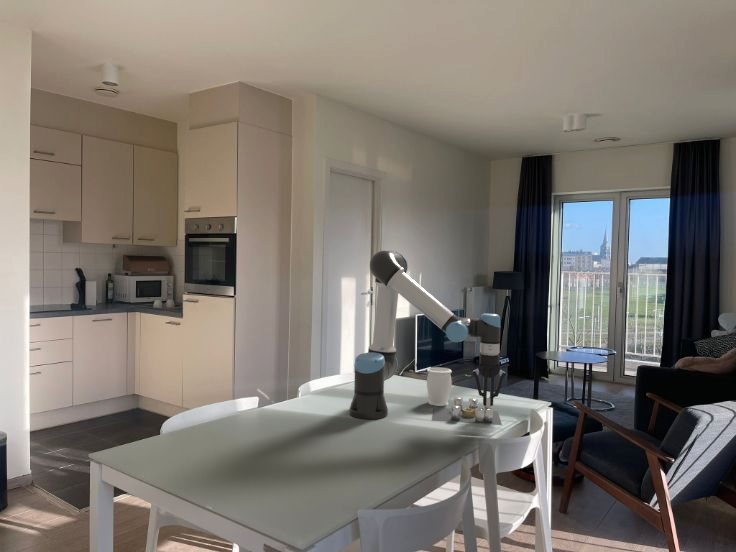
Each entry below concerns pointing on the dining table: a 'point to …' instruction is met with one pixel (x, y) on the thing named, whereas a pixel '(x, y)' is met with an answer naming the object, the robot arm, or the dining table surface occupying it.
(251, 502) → the dining table surface
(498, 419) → the mat
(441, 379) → the jar
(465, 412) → the nut
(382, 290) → the robot arm
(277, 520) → the dining table surface
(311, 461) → the dining table surface
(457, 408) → the spacers
